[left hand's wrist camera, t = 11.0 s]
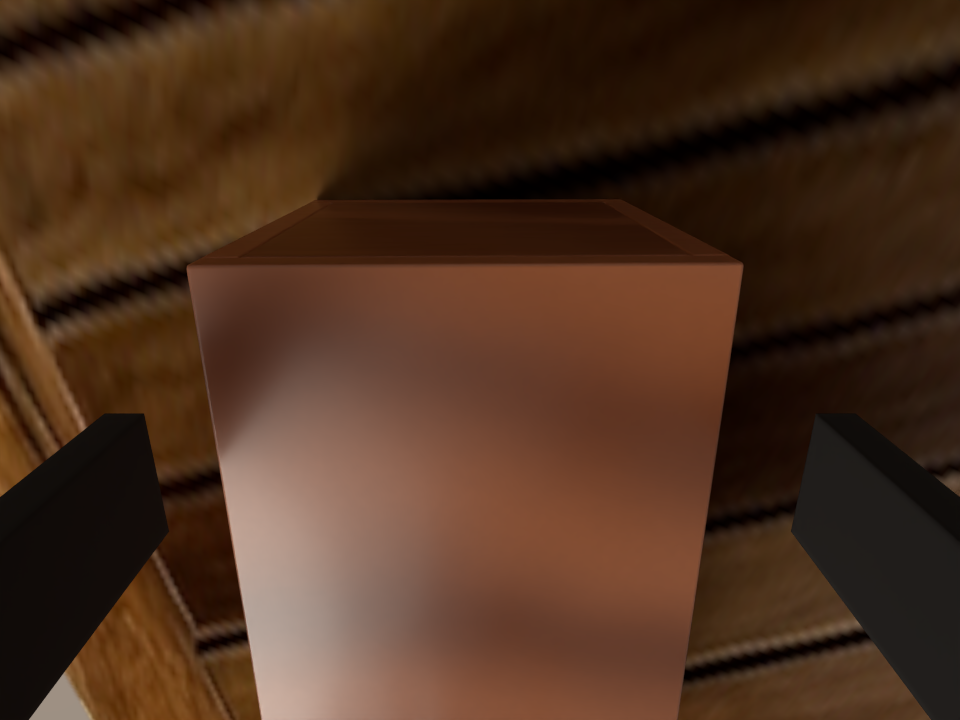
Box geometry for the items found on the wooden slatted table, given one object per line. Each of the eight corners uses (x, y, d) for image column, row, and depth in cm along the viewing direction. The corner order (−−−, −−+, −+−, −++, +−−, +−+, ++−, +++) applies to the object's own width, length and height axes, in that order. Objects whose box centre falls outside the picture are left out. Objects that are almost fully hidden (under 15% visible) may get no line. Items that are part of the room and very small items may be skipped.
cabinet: (590, 611, 30) (655, 875, 19) (351, 613, 30) (287, 882, 19) (621, 198, 23) (745, 262, 13) (314, 199, 23) (184, 264, 13)
